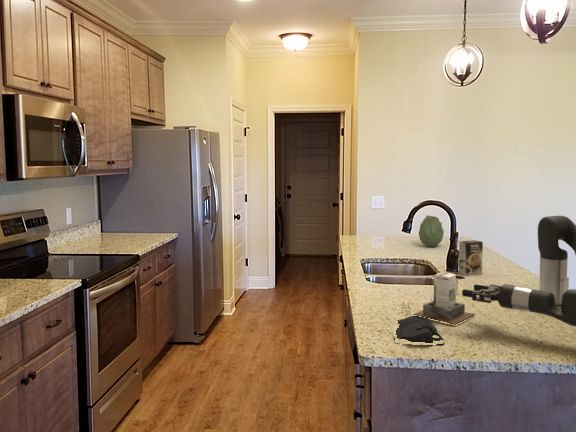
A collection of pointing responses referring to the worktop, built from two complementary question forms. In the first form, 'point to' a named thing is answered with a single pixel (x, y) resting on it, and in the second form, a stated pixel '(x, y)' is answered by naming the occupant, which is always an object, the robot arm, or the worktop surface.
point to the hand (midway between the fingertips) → (468, 289)
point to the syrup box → (444, 290)
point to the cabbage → (431, 231)
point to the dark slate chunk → (417, 330)
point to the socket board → (445, 313)
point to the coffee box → (470, 257)
